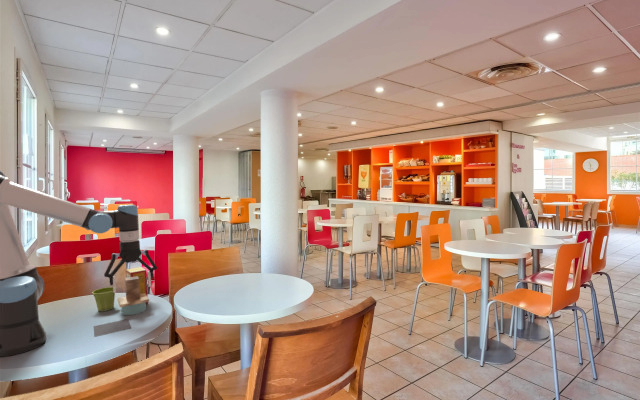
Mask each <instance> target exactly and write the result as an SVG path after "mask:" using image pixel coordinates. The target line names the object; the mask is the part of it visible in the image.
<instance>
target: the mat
mask: <svg viewBox="0 0 640 400" xmlns="http://www.w3.org/2000/svg"><path fill="white" fill-rule="evenodd" d="M131 329H132V326H131V322H130V320H129V318H126V319H121V320H116V321H112V322H107V323H102V324H97V325H94V326H93V337H94V338H95V337H99V336H104V335H109V334H114V333H117V332H118V333H119V332H123V331H126V330H131Z"/></svg>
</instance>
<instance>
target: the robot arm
mask: <svg viewBox="0 0 640 400" xmlns="http://www.w3.org/2000/svg"><path fill="white" fill-rule="evenodd" d="M9 206H10V207H13V208H18V209H20V210H24V211H28V212H30V213H34V214H37V215H39V216H40V215H41V216H44V217H47V218H51V219H53V220H57V221H60V222H63V223H68V224H71V225H74V226H77V227H79V228H83V229H84V230H87V231H91V232H93V233H96V234H104V233H106V232H108V231H110V230H111V229H118V233H119V234H118V235H119V241H120V242H119V251H120V252H119V253H114V252H113V253H112V254H111V259H110V261H109V264H108V265H107V268H106V270H105V271H104V274H103V275H104V277H105V278H108V279H109V280H108V281H109V285H110V286H112V287H113V292H114V293H115V294H116V293H117V289H116V288H117V287H116V276H115V275H116V274H117V272H118V271H119V270H120V269H121V268H122V266H123V265H124V264H125V263H129V264H130V263H136V262H139V263H140V264H141V265H142V266H144V268H146V269H148V271H147V287H150V288H151V287H152V279H154V271H156V270H158V266H157V265H156V263H155V262H154V260H153V259H152V257H151V256H150V254H149V253H150V252H149V250H148V249H146V248H145V249H144V250H141V247H140V246H141V245H140V244H141V242H140V230H139V229H140V227H139V226H140V225H139V211H138V206H137V205H135V204H123V205H118V206H117V208H116V209H115V210H100V211H99V210H95V209H93V208H89V207H87V206H84V205H81V204H77V203H75V202H72V201H68V200H65V199H63V198H59V197H56V196H53V195H51V194H47V193H45V192H41V191H39V190H36V189H33V188H29V187H27V186H23V185H20V184H19V183H14V182H13V181H11V180H10V178H9V177H7V176H6V175H5V174H4V173H3V172H2V171H1V170H0V357H8V356H9V357H10V356H14V355H19V354H23V353H26V352H29V351H31V350H34V349H36V348H39V347H40V346H42V345H43V344H45V343H46V342H47V333H46V331H45V329H44V327H43V325H42V323H41V321H40V315H39V302H38V300H40V298H41V297H42V295H43V294H44V291H45V281H44V279H43V277H42V276H41V275H39V273H38V269H37V267H36V265H34V264H31V263H30V261H29V260H28V256H27V254H26V251H25V248H24V246H23V243H22V240H21V237H20V235H19V231H18V229H17V226H16V224H15V221H14V217H13V215H12V212H11V210H10V207H9ZM141 255H143V256H145V257H146V259H147V260H148V262H149V263H150V264H151V266H152V267H151V266H150V265H149V264H147V262H145V261H144V260H143V259H142V258H141ZM118 257H120V261H119V262H118V263H117V265H116V266H115V267H114V268H113V266H114V264H115V261H116V260H117V259H118ZM112 268H113V270H112Z"/></svg>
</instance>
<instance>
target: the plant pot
mask: <svg viewBox="0 0 640 400" xmlns="http://www.w3.org/2000/svg"><path fill="white" fill-rule="evenodd" d="M116 290H117V287H116ZM91 293H92V294H93V297H94V300H95V303H96V307H97V310H98V311H99V312H105V311H110V309H111V310H112V309H114V307H115V298H116V296H115V295H116V293H114V292H113V286H108V287H102V288H97V289H95V290H93V291H92V292H91Z"/></svg>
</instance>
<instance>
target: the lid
mask: <svg viewBox="0 0 640 400" xmlns="http://www.w3.org/2000/svg"><path fill="white" fill-rule="evenodd" d="M124 286H125V287H124V288H125V296H122V297H117V302H118V306H119V308H121V307H124V306H129V305H135V304H140V303H145V302H148V303H149V302H150V299H149V296H148V297H147V295H146V293H143V294H140V285H139V278H138V276H136V277H129V278H126V277H125V278H124Z"/></svg>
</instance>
